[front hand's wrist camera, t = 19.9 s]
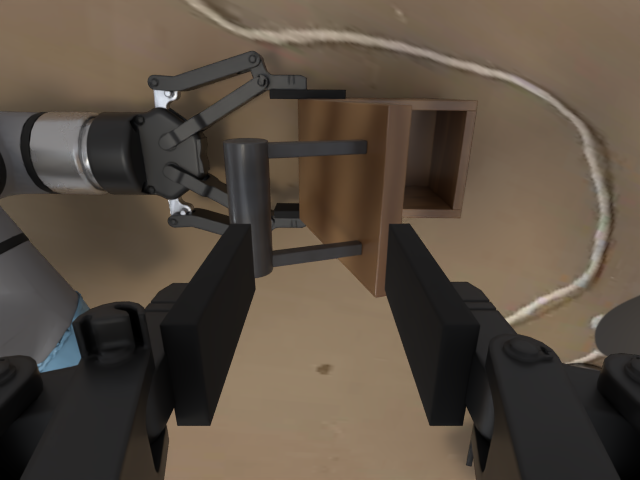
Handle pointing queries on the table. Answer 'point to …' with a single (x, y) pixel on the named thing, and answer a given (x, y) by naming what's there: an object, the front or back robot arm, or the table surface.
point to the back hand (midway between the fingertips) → (342, 155)
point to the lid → (328, 185)
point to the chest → (435, 154)
